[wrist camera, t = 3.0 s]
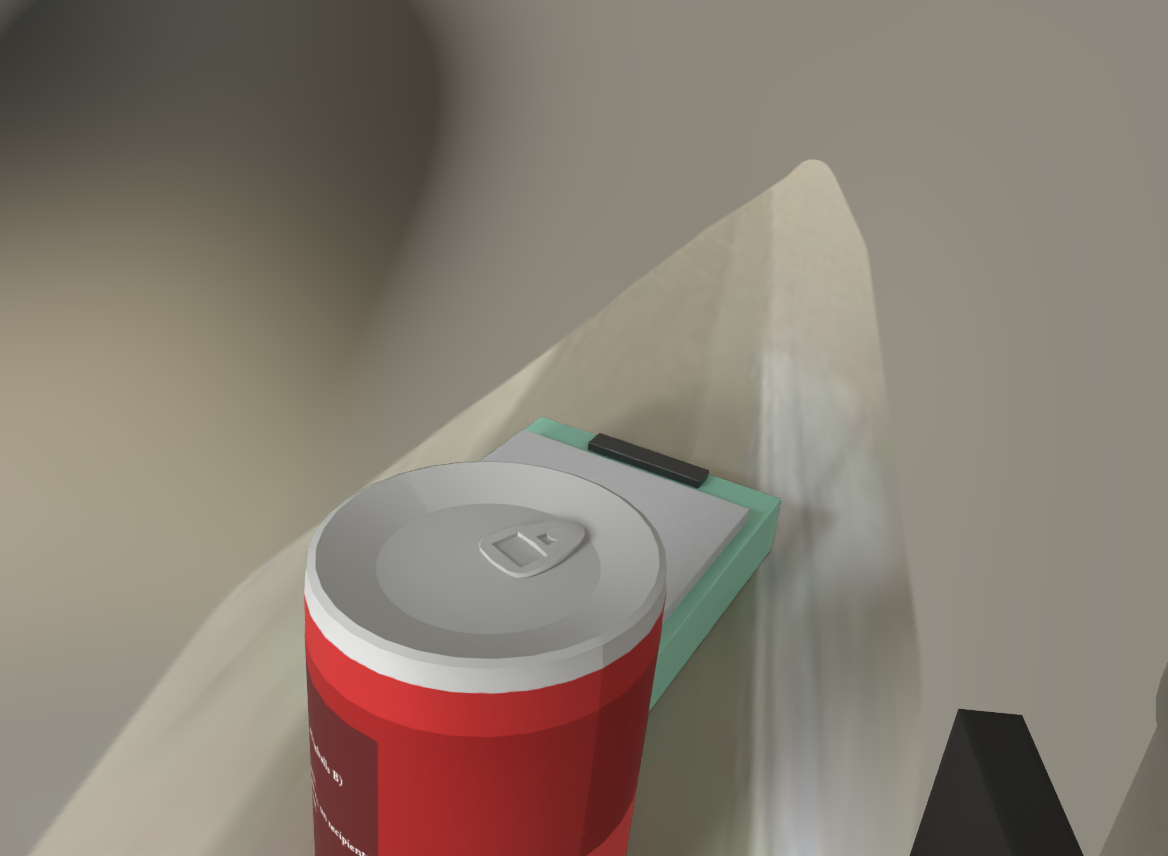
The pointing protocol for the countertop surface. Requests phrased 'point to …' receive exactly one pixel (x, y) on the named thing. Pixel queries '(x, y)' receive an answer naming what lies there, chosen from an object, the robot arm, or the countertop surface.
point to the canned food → (480, 664)
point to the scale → (667, 525)
